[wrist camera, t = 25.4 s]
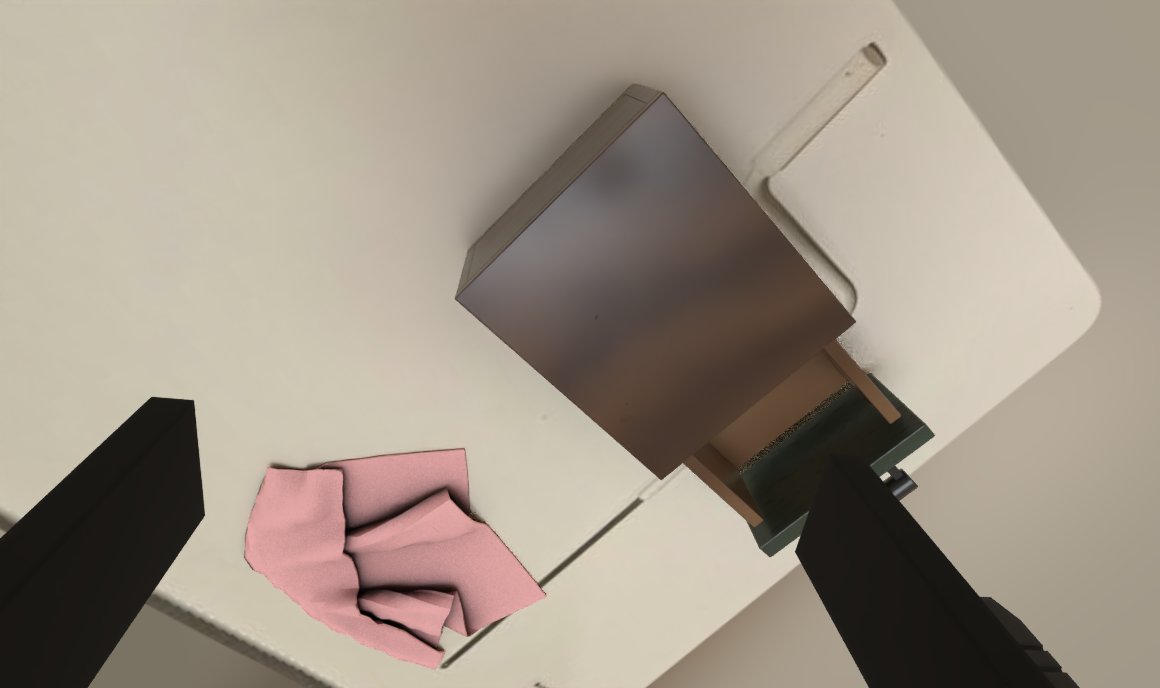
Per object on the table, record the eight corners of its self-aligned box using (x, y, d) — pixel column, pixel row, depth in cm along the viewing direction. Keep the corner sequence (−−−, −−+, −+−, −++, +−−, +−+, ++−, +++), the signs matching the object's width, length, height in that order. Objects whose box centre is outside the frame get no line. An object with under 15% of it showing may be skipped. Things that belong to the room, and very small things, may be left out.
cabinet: (794, 271, 42) (856, 322, 34) (637, 406, 45) (661, 480, 38) (633, 82, 37) (663, 91, 29) (467, 250, 40) (454, 298, 32)
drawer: (915, 424, 47) (975, 481, 41) (776, 528, 50) (813, 596, 43) (751, 235, 40) (793, 268, 34) (602, 367, 43) (616, 420, 37)
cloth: (227, 444, 44) (212, 465, 42) (555, 450, 46) (557, 470, 44) (264, 665, 52) (253, 692, 50) (542, 661, 54) (542, 686, 52)
